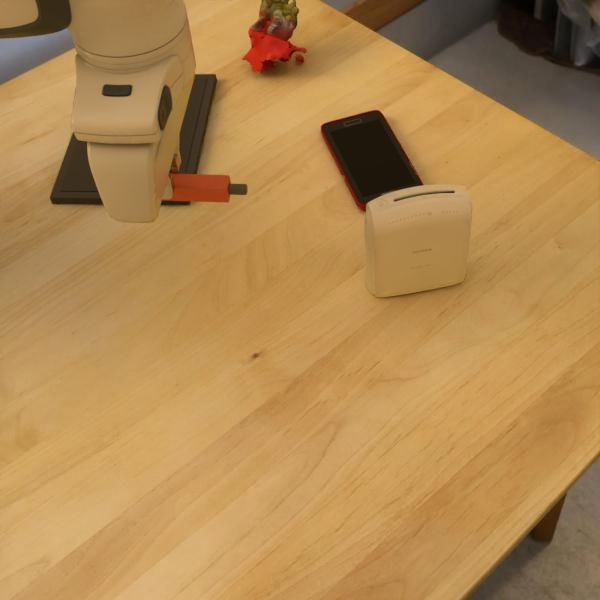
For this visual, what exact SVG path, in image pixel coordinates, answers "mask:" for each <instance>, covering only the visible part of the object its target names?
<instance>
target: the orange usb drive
mask: <svg viewBox="0 0 600 600" xmlns="http://www.w3.org/2000/svg"><path fill="white" fill-rule="evenodd" d="M169 174H173V173H169ZM173 179H174V183H175V188H174V192H173V196H172V198H171V199H169V200H166V199H162V200H166V201H190V202H197V203H227V204H229V203H230V199H231V195H233V196H235V195H236V196H247V195H248V191H249V190H248V184H247V183H231V177H230V174H229V175H228V174H201V173H198V174H197V173H196V174H173Z"/></svg>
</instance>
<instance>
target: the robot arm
mask: <svg viewBox="0 0 600 600" xmlns="http://www.w3.org/2000/svg"><path fill="white" fill-rule="evenodd" d="M189 21H190V20H189V16H188V11H187V5H186V3H185V1H184V0H0V39H1V40H2V39H3V40H4V39H20V38H31V37H38V36H45V35H51V34H55V33H58V32H59V33H60V32H61V31H64V30H66V29H67V30H68V31H69V33H70V35H71V39H72V43H73V46H74V49H75V52H76V54H75V56H74V65H75V89H74V97H73V105H72V111H71V113H72V114H71V120H70V121H71V122H70V123H71V127H72V132H73V131H74V134H75V136H76V138H77V139H78V140H79V141H86V142H87V153H88V160H89V165H90V168H91V172H92V175H93V178H94V180H95V183H96V186H97V189H98V192H99V194H100V197H101V199H102V202H103V204H102V205H103V206H104V209H105V211H106V213H107V215H108V216H109V217H110V218H111V219H112V220H114V221H116V222H120V223H129V224H148V223H150V224H151V223H154V222H156V221H157V220H158V217H159V213H160V209H161V206H162V205H161V202H162V199H166V200H169V199H171V198H172V196H173V192H174V188H175V183H174V179H173V174H178V171H179V168H180V165H181V157H180V152H179V134H180V130H181V126H182V122H183V119H184V115H185V111H186V107H187V103H188V100H189V96H190V92H191V88H192V85H193V81H194V78H195V74H196V69H197V59H196V55H195V51H194V44H193V39H192V33H191V28H190V22H189ZM169 173H173V174H169Z"/></svg>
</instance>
